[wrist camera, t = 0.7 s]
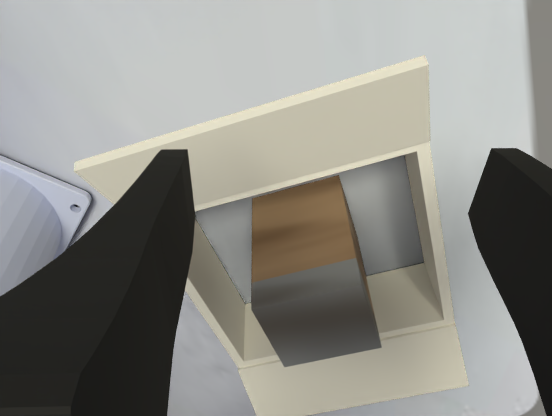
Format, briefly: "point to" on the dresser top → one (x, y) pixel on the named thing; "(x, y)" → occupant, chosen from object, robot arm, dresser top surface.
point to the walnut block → (310, 275)
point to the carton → (296, 169)
